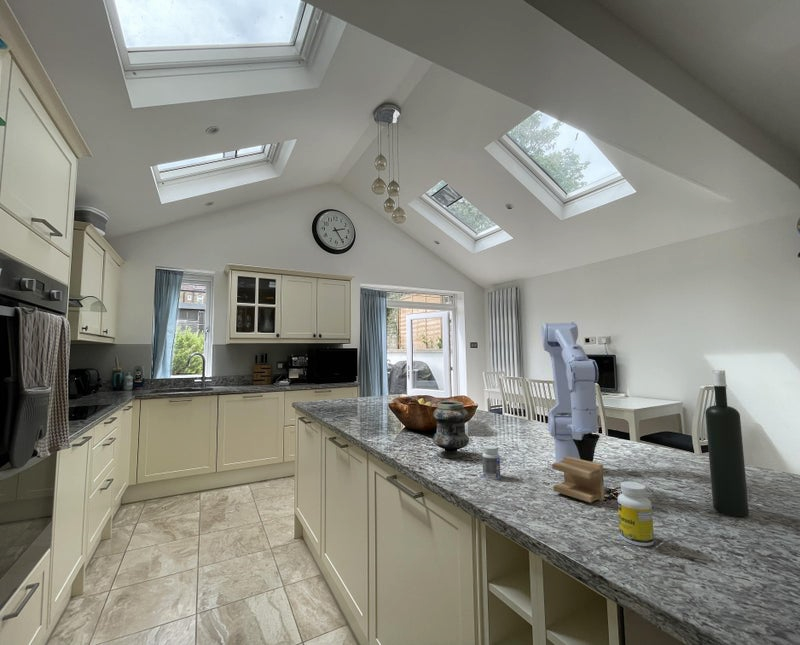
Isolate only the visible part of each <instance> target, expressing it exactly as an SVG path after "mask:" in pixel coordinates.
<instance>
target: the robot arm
mask: <svg viewBox="0 0 800 645" xmlns="http://www.w3.org/2000/svg"><path fill="white" fill-rule="evenodd" d="M578 337H579V329H578V325H577V323H576V322H574V321H571V322H544V323H543V324H542V326H541V342H542V347H543V351H545V352H547V353H549V357H550V360H551V368H552V376H553V384H554V386H553V388H554V394H555V405H554V406H553V407H551V408H550V409H549V411H548V412H547V428H548V429H547V430H548V433H549V434H550V435H551V437H554V455H555V456H554V458H555V463H557V462H560V461H563V457H565V456H568V457H573V458H577V459H581V460H586V461H590V462H594V457H595V450H596V447H597V444H598V441H599V439H600V438H601V437H600V434H598V433H597V434H596V432H599V430H600V428H599V426H598V412H597V411H598V410H597V406H598V405H597V393H596V392H597V390H596V384H597V383H598V381H599V367H598V364H597V362H596V360H594V359H591V358H589V357H588V356H587V354H586V352H585V350H584V348H583V346H581V345H580V344H577V340H578ZM549 468H550V469H552V464H551V465H549Z"/></svg>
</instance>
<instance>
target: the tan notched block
mask: <svg viewBox="0 0 800 645" xmlns="http://www.w3.org/2000/svg"><path fill="white" fill-rule="evenodd" d="M551 465H552V468H551V469H552V470H554V471H558V472H562V473H563V478H564V479H563V480H564V481H563V482H560V483H558V484H554V485H553V486H552V487H553V492H555V493H558V494H562V495H564V496H569V497H571V498H574V499H577V500H581V501H585V502H587V503H592V502H594V501H596V500H597V501H601V502H602V501H604V500H605V483H604V480H605V479H604V466H603V464H602V463H598V462H594V461H593V462H590V461H586V460H581V459H577V458H573V457H568V456H565V457H563V461H560V462H557V463H556V462H555V463H552V464H551Z"/></svg>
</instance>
